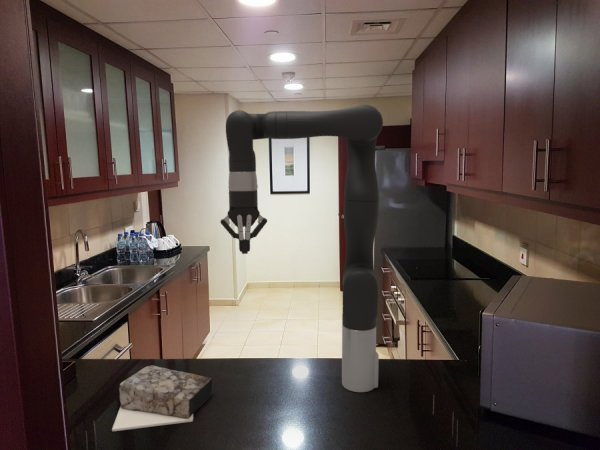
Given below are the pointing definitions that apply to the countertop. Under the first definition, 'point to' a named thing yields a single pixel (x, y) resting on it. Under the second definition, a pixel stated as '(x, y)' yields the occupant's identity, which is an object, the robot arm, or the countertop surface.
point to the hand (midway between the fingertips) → (244, 253)
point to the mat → (144, 419)
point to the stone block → (165, 391)
